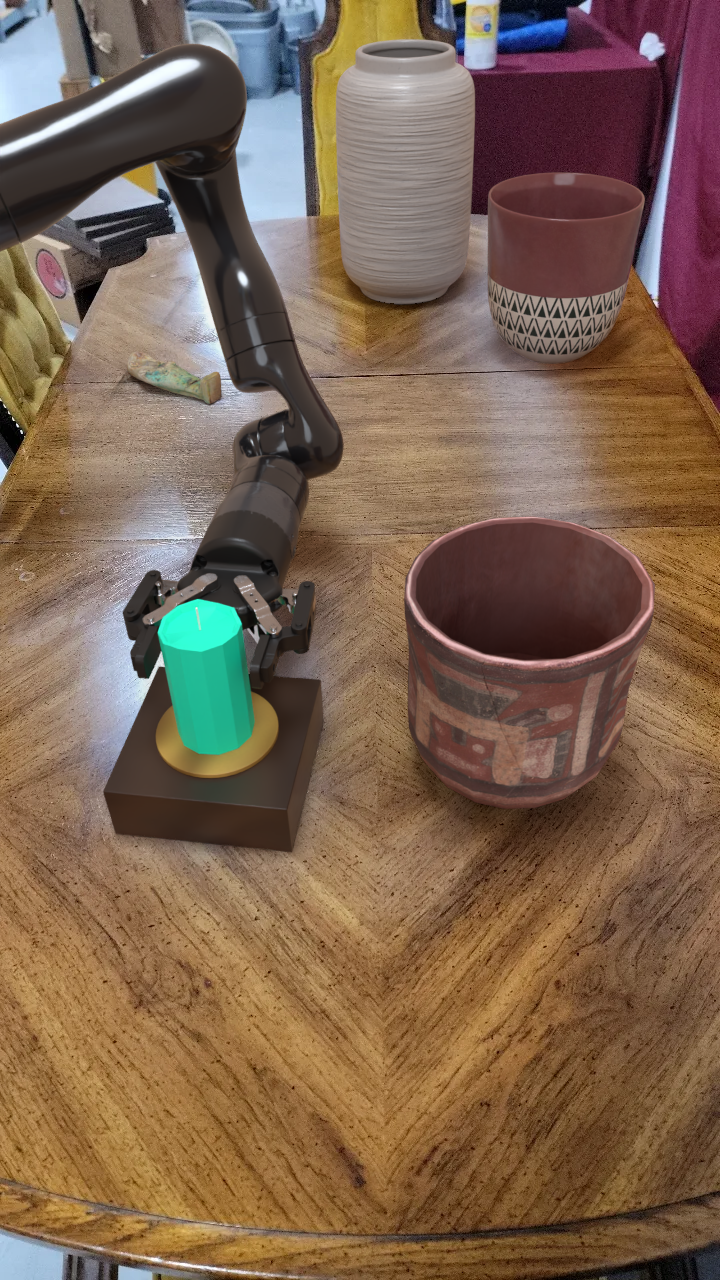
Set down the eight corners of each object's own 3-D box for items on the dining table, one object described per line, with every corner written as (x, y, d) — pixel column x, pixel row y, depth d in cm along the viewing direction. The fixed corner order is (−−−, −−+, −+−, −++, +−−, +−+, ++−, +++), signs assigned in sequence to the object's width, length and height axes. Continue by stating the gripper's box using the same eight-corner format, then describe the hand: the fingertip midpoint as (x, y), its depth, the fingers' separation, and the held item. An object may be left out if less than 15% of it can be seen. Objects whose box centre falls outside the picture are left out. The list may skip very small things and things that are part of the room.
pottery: (621, 855, 74) (663, 678, 62) (388, 826, 77) (387, 651, 65) (616, 693, 87) (650, 522, 75) (418, 672, 90) (421, 504, 78)
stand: (115, 834, 77) (101, 788, 73) (167, 707, 87) (157, 662, 84) (292, 852, 75) (286, 806, 71) (323, 721, 85) (320, 675, 82)
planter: (504, 394, 131) (517, 226, 117) (462, 334, 145) (469, 179, 131) (642, 377, 133) (671, 211, 119) (588, 320, 148) (608, 167, 134)
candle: (234, 763, 75) (215, 643, 67) (164, 744, 76) (137, 624, 69) (267, 710, 79) (253, 591, 71) (200, 693, 81) (179, 575, 73)
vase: (316, 295, 158) (303, 55, 136) (386, 256, 170) (385, 30, 148) (424, 322, 149) (429, 69, 127) (490, 279, 161) (504, 42, 139)
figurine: (194, 413, 129) (190, 386, 126) (121, 380, 136) (116, 354, 134) (225, 398, 132) (222, 371, 129) (152, 367, 140) (148, 341, 137)
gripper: (161, 502, 82) (92, 627, 70) (330, 513, 80) (291, 643, 68) (174, 575, 87) (112, 704, 75) (334, 586, 85) (298, 720, 73)
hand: (197, 675), depth 71 cm, fingers open, 8 cm apart
